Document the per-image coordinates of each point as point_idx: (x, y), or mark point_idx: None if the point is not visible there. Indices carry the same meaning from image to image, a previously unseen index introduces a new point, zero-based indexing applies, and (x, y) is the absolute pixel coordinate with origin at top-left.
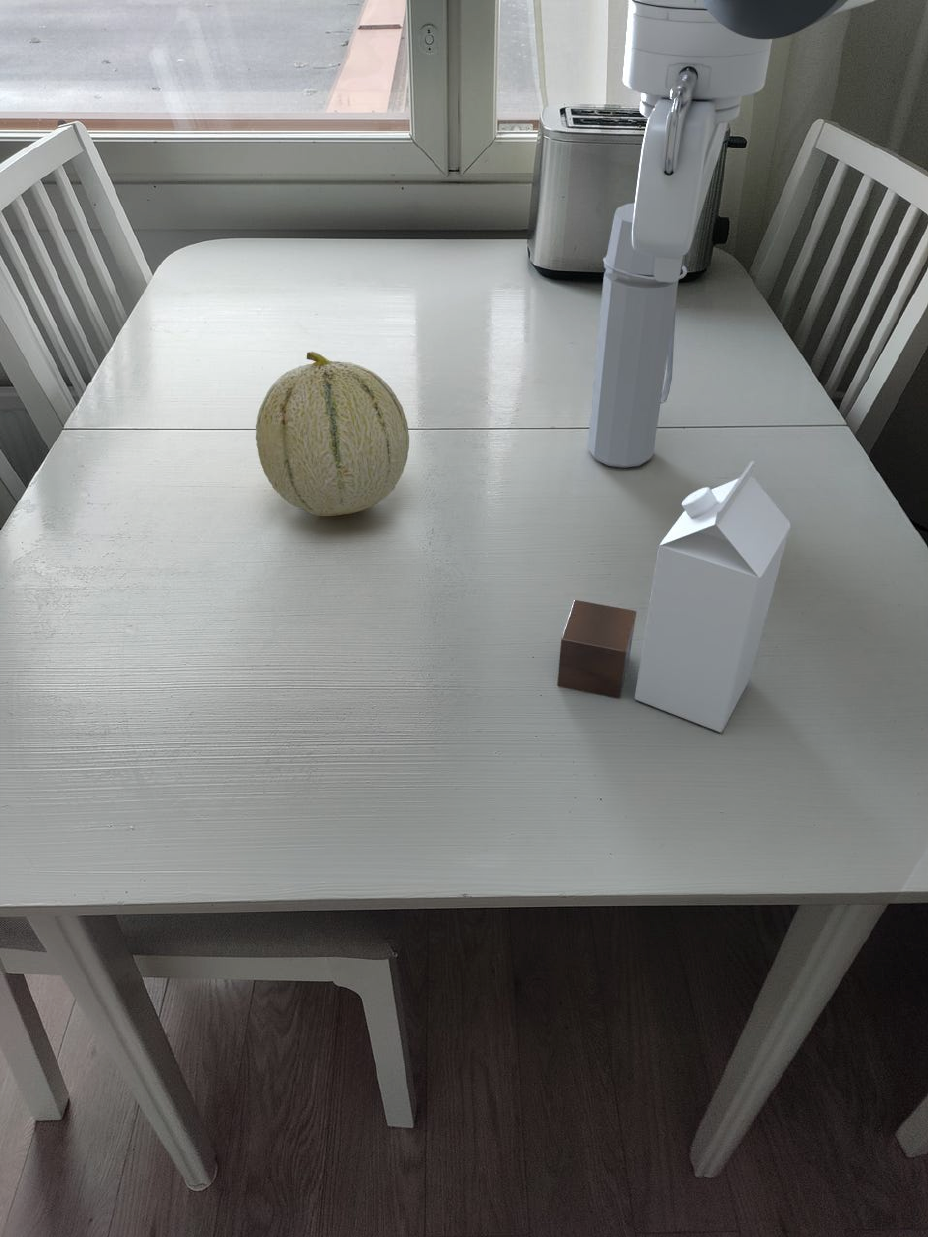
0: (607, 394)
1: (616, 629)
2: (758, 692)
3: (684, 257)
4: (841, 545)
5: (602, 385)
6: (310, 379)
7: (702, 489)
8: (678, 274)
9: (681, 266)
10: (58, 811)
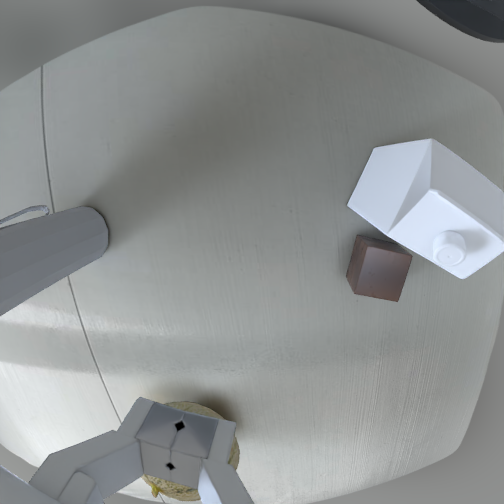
0: (70, 269)
1: (389, 262)
2: (386, 144)
3: (132, 408)
4: (194, 54)
5: (64, 276)
6: (186, 497)
7: (444, 248)
8: (233, 432)
9: (195, 427)
10: (426, 457)
